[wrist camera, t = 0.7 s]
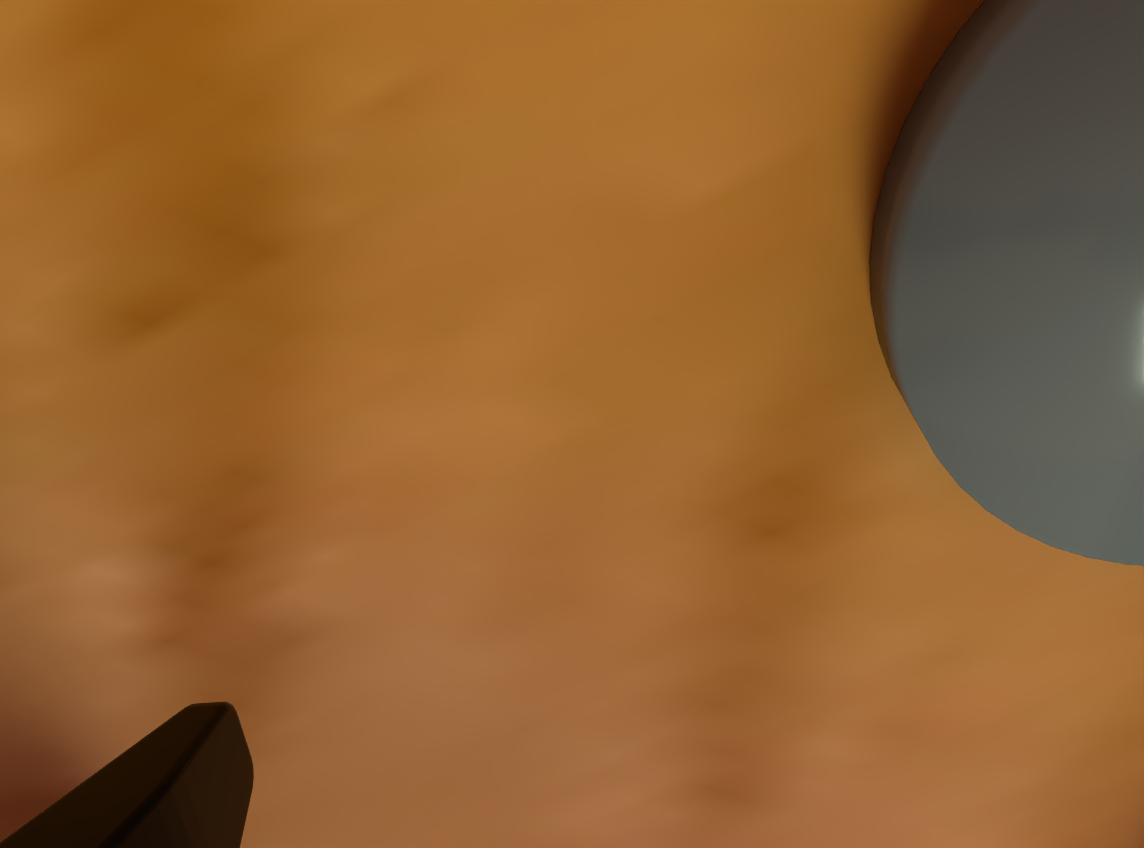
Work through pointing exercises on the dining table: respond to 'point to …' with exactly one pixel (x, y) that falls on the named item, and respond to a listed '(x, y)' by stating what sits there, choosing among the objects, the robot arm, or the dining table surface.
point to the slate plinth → (1026, 269)
